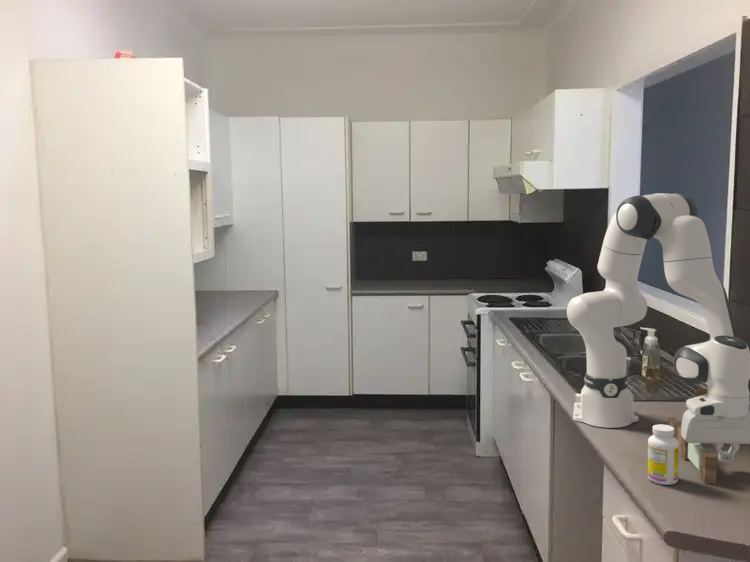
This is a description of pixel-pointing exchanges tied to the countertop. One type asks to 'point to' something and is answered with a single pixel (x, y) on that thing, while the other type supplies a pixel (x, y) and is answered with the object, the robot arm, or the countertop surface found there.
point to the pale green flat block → (696, 454)
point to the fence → (706, 457)
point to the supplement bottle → (663, 455)
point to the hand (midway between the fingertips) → (725, 459)
